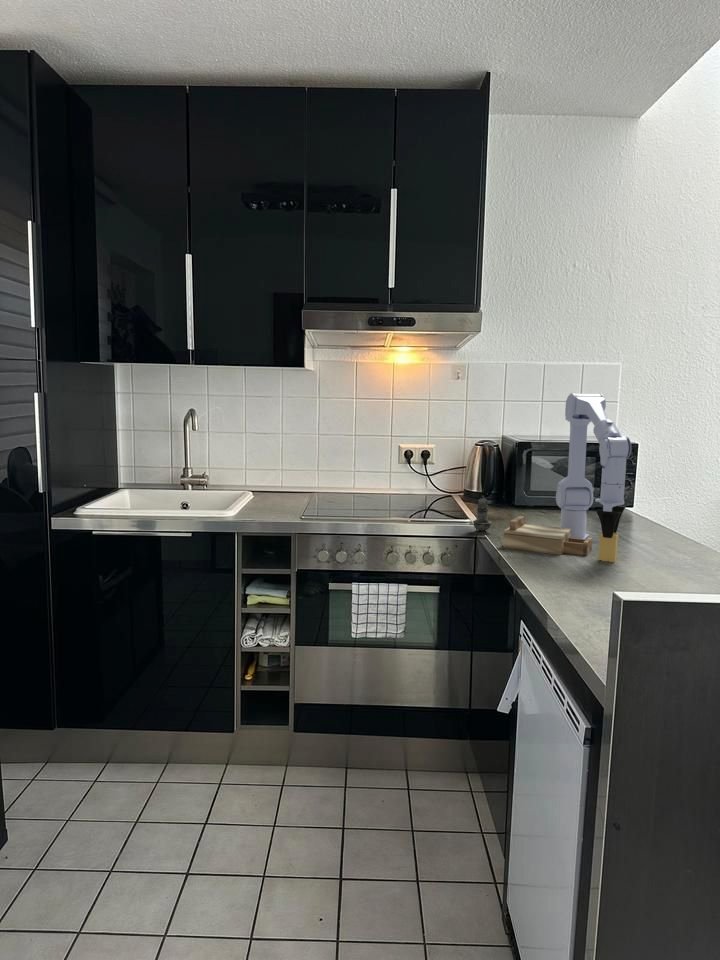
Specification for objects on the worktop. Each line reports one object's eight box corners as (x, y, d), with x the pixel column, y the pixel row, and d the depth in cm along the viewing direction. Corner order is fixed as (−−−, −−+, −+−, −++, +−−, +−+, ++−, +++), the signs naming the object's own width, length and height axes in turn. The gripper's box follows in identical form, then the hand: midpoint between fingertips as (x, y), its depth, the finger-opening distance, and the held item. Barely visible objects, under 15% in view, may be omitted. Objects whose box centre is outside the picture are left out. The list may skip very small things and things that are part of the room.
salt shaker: (478, 530, 209) (479, 493, 208) (494, 532, 206) (496, 495, 204) (468, 533, 205) (469, 495, 203) (485, 535, 201) (486, 497, 200)
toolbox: (515, 539, 196) (516, 526, 195) (593, 548, 185) (594, 534, 185) (503, 547, 185) (503, 533, 184) (584, 557, 174) (585, 543, 173)
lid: (516, 525, 195) (516, 514, 195) (571, 531, 188) (572, 520, 187) (503, 533, 184) (504, 521, 184) (561, 539, 176) (562, 527, 176)
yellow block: (600, 557, 175) (602, 531, 174) (616, 559, 173) (618, 533, 172) (598, 560, 171) (599, 534, 170) (614, 562, 169) (616, 535, 169)
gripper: (601, 479, 178) (598, 528, 179) (591, 485, 165) (588, 538, 167) (629, 481, 174) (625, 531, 176) (621, 487, 162) (618, 541, 163)
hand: (609, 534), depth 171 cm, fingers open, 7 cm apart
